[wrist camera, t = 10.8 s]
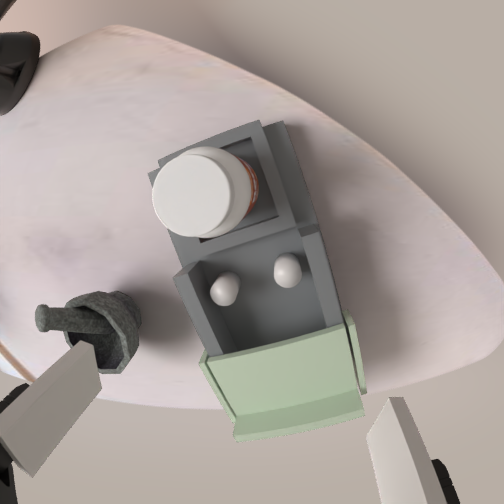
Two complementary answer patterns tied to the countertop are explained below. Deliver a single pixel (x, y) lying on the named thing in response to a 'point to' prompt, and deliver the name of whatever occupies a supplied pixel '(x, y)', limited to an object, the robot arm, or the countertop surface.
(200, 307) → the housing base
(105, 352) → the mortar and pestle
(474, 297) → the countertop surface
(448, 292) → the countertop surface
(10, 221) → the countertop surface
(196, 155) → the pill bottle
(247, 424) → the cover
